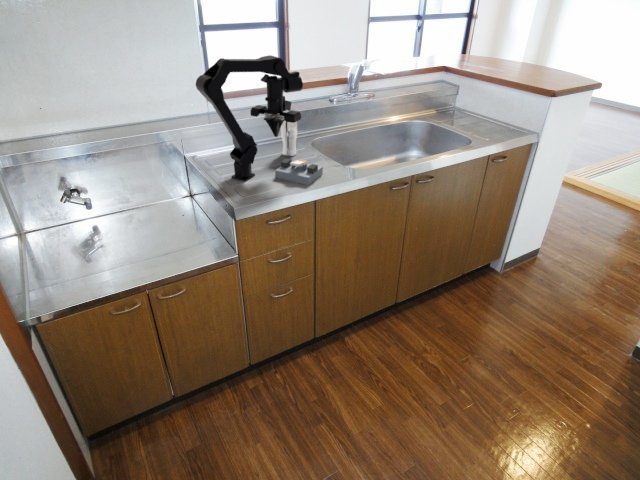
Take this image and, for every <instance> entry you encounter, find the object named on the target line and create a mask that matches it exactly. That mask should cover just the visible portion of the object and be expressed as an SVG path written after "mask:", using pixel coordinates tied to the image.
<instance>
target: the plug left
mask: <svg viewBox="0 0 640 480" xmlns="http://www.w3.org/2000/svg"><path fill="white" fill-rule="evenodd" d="M291 162H292V159H289V158H285V159H283V160H281V161H280V167H284V168H287V167H289V166H290V163H291Z"/></svg>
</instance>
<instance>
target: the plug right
mask: <svg viewBox="0 0 640 480" xmlns="http://www.w3.org/2000/svg"><path fill="white" fill-rule="evenodd" d="M310 164H311V165H310V166H309V167H307V173H312V174H313V173H315V172H316V171H317V170H318V166H319V164H314V163H310Z"/></svg>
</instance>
